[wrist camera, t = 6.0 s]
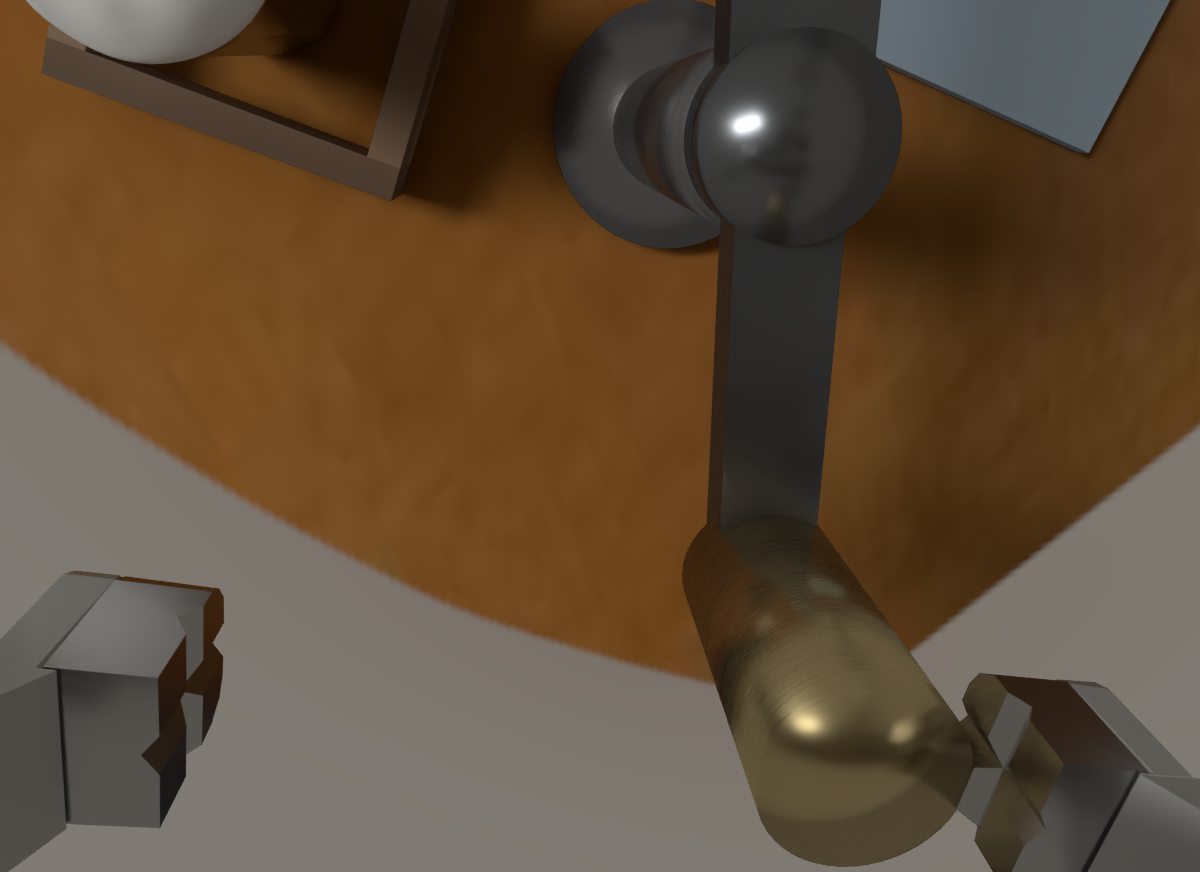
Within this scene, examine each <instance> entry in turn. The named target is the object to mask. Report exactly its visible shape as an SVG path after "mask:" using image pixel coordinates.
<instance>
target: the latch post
mask: <svg viewBox="0 0 1200 872" xmlns="http://www.w3.org/2000/svg"><path fill="white" fill-rule="evenodd" d="M715 10H716V7H714V6H711V5H708V4H706V3H703V2H698V1H693V0H654V1H650V2H646V3H641V4H638V5H636V6H633V7H631V8H628V9H626V10H624V11H622V12H620V13H619V14H617V15H615V16H613V17H612V18H610V19H609V20H608V21H606V22H605V23H604V24H602V25H601V26H600V27H599V28H597V29H596V30H595V31H594V32H593V33H592V34H591V35H590V36H589V38H588V39H587V40H586V41H585V42H584V43H583V44H582V46H581V47H580V48H579V50H578V51H577V52H576V54H575V55H574V57H573V58H572V60H571V62H570V64H569V65H568V67H567V69H566V71H565V73H564V76H563V78H562V81H561V83H560V86H559V90H558V93H557V97H556V101H555V108H554V115H553V137H554V146H555V152H556V156H557V160H558V164H559V167H560V170H561V172H562V175H563V178H564V180H565V182H566V183H567V185H568V187H569V189H570V191H571V193H572V194H573V196H574V197H575V199H576V200H577V201H578V203H579V204H580V206H581V207H582V208H583V209H584V210H585V211H586V213H587V214H588V215H589V216H590V217H591V218H592V219H593V220H595V221H596V222H597V223H598V224H599V225H601V226H602V227H603V228H604V229H606V230H608V231H609V232H611V233H612V234H614V235H616V236H618V237H620V238H622V239H624V240H627V241H629V242H632V243H635V244H639V245H642V246H648V247H654V248H679V247H687V246H691V245H695V244H699V243H702V242H705V241H707V240H710V239H712V238H715V237H716V236H718V235H720V218H719V217H717V216H716V215H715V214H714V213H713V212H712V211H711V210H710V209H709V208H708V207H707V206H706V205H705V203H704V202H703V201H702V200H701V198H700V197H699V195H698V193H697V192H696V190H695V188H694V186H693V184H692V181H691V179H690V177H689V173H688V170H687V166H686V161H685V155H684V130H685V123H686V118H687V114H688V111H689V108H690V105H691V102H692V99H693V97H694V95H695V93H696V91H697V89H698V87H699V86H700V84H701V83H702V81H703V79H704V78H705V76H706V75H707V74H708V73H709V72H710V70H711V69H712V68H713V61H714V36H715Z"/></svg>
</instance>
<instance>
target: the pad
mask: <svg viewBox="0 0 1200 872" xmlns="http://www.w3.org/2000/svg"><path fill="white" fill-rule="evenodd" d="M1169 1H1170V0H881V10H880V20H879V30H878V40H877V50H876V57H877V58H878V59H879V60H880V62H881V63H882V65H884V66H887V67H889V68H891V69H893V70H896V71H898V72H900V73H902V74H904V75H907V76H909V77H911V78H913V79H916V80H918V81H920V82H922V83H925V84H927V85H929V86H931V87H933V88H936V89H938V90H940V91H942V92H945V93H947V94H949V95H951V96H953V97H956V98H958V99H960V100H962V101H965V102H967V103H969V104H971V105H973V106H976V107H978V108H980V109H982V110H985V111H987V112H989V113H991V114H994V115H996V116H998V117H1000V118H1002V119H1005V120H1007V121H1009V122H1011V123H1014V124H1016V125H1018V126H1020V127H1022V128H1025V129H1027V130H1029V131H1031V132H1034V133H1036V134H1038V135H1040V136H1042V137H1045V138H1047V139H1049V140H1051V141H1054V142H1056V143H1058V144H1060V145H1062V146H1065V147H1067V148H1069V149H1071V150H1074V151H1076V152H1080V153H1089V152H1090V150H1091V148H1092V146H1093V144H1094V142H1095V141H1096V139H1097V137H1098V135H1099V133H1100V131H1101V129H1102V127H1103V126H1104V124H1105V122H1106V120H1107V118H1108V116H1109V114H1110V112H1111V111H1112V109H1113V107H1114V105H1115V103H1116V101H1117V99H1118V97H1119V95H1120V94H1121V92H1122V90H1123V88H1124V86H1125V84H1126V82H1127V80H1128V79H1129V77H1130V75H1131V73H1132V71H1133V69H1134V67H1135V65H1136V64H1137V62H1138V60H1139V58H1140V56H1141V54H1142V52H1143V50H1144V48H1145V47H1146V45H1147V43H1148V41H1149V39H1150V37H1151V35H1152V33H1153V32H1154V30H1155V28H1156V26H1157V24H1158V22H1159V20H1160V18H1161V17H1162V15H1163V13H1164V11H1165V9H1166V7H1167V5H1168V3H1169Z"/></svg>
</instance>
